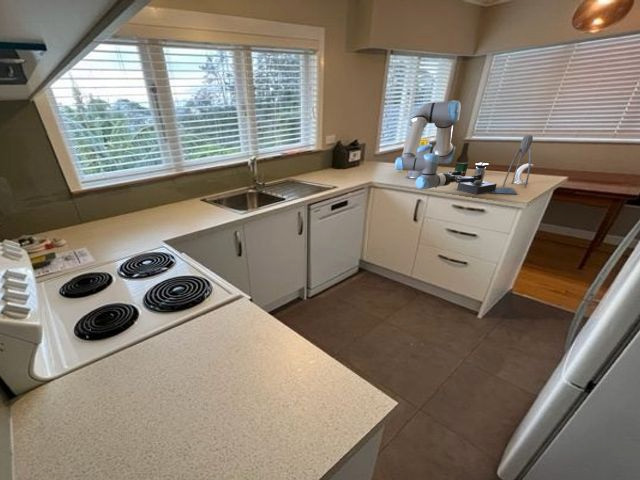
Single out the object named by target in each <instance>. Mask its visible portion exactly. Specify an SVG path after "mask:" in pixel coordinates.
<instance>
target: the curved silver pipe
mask: <svg viewBox="0 0 640 480" xmlns="http://www.w3.org/2000/svg"><path fill="white" fill-rule="evenodd" d="M528 166H529V162H528V163H524V164H522V165H520V166H518V169H517V172H516V175H515V178H514V182H513V184H517V185H525V183H526V180H525V181H524V180H522V174H523V172H524V171H525V170H527V169H528ZM530 167H534V164H532V163H531V166H530ZM515 180H516V181H515ZM528 183H529V182H527V185H528Z"/></svg>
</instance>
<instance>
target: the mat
mask: <svg viewBox="0 0 640 480" xmlns="http://www.w3.org/2000/svg"><path fill="white" fill-rule="evenodd" d="M489 194H492V195H513V196H515V195H518V193H517V192H516V191H515V190H514V189H513V188H512V187H500V186H499V187H497V186H496V189H495V190H494V191H490V192H489Z"/></svg>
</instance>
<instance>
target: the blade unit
mask: <svg viewBox="0 0 640 480" xmlns="http://www.w3.org/2000/svg"><path fill="white" fill-rule="evenodd" d="M489 164H490V163H484V162H479V163H475V165H476V167H475V171H474V175H473V176H476V175H482V177H481V180H475V182H473V183H472V184H476V185H480V184H482V181H484V177H485V173H486V169H487V167H486V166H488V165H489Z"/></svg>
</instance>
